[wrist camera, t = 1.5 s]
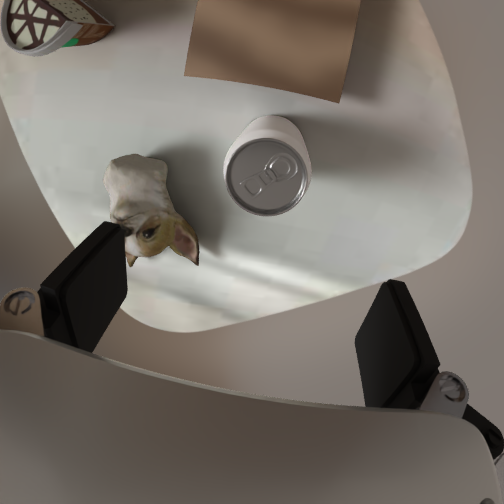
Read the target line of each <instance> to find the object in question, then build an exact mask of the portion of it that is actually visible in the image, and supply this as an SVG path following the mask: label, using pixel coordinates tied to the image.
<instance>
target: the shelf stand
mask: <svg viewBox="0 0 504 504" xmlns="http://www.w3.org/2000/svg"><path fill="white" fill-rule="evenodd" d="M360 3H361V0H198V3H197V7H196V12H195V17H194V22H193V27H192V32H191V37H190V43H189V48H188V54H187V60H186V66H185V72H184V76H191V77H202V78H211V79H219V80H227V81H234V82H241V83H247V84H253V85H259V86H265V87H270V88H275V89H280V90H285V91H290V92H295V93H299V94H304V95H308V96H312V97H316V98H320V99H324V100H328V101H332V102H336V103H339V102H340V98H341V94H342V89H343V85H344V80H345V76H346V71H347V67H348V62H349V58H350V53H351V48H352V44H353V39H354V34H355V29H356V24H357V19H358V13H359V8H360Z"/></svg>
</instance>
